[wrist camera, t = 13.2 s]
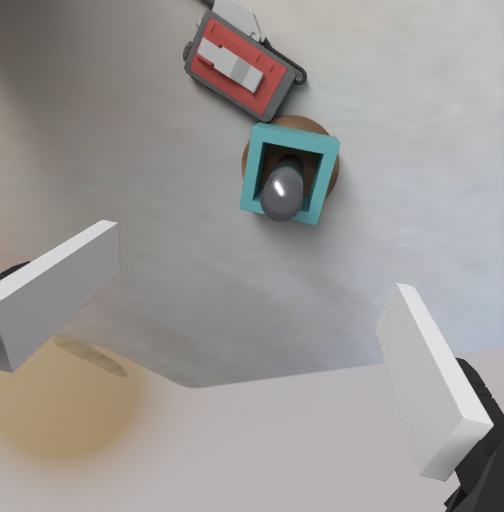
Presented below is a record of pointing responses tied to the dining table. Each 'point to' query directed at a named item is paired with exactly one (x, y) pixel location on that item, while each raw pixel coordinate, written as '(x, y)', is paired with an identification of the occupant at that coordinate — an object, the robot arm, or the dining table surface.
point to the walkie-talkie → (239, 60)
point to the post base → (306, 156)
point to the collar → (294, 139)
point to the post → (284, 189)
